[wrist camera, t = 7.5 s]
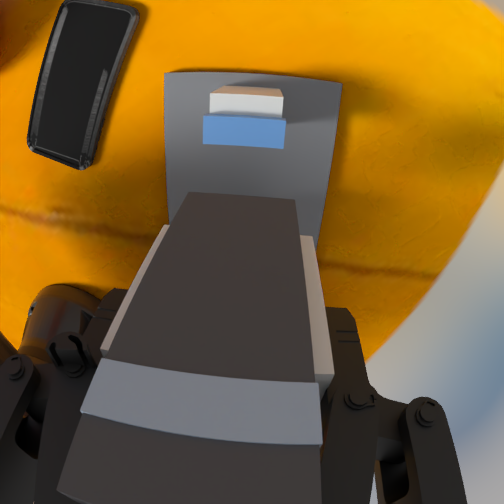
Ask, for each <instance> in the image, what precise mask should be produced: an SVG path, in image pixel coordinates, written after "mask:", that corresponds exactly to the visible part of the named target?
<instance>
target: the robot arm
mask: <svg viewBox="0 0 504 504" xmlns="http://www.w3.org/2000/svg"><path fill="white" fill-rule="evenodd" d="M169 226H170V225H164V226H163V227H162V229H161V231H160V233H159V234H158V236H157V238H156V240H155V242H154V243H153V245H152V247H151V249H150V251H149V252H148V254H147V256H146V258H145V260H144V262H143V263H142V265H141V267H140V269H139V271H138V273H137V275H136V277H135V279H134V280H133V282H132V284H131V286H130V288H129V290H125V289H118V288H114V289H112V290H111V291H110V292H109V293H108V294H106V295H105V296H104V297H103V299H102V301H100V300H99V299H97V298H96V297H94V296H92V295H90V294H89V293H87V292H85V291H82V290H80V289H77V288H74V287H70V286H66V285H51V286H48V287H45V288H44V289H42V290H41V291H40V292H39V293H38V295H37V296H36V298H35V299H34V300H33V302H32V304H31V306H30V308H29V312H28V318H27V321H26V325H25V329H24V333H23V338H22V342H21V346H20V347H19V349H18V351H17V350H16V349H15V348H14V347H13V345H12V344H11V343H10V342H9V341H8V340H7V339H6V337H5V336H4V335H3V334H2V333H1V331H0V504H33V502H34V504H81V503H78V502H76V501H74V500H73V499H71V498H69V497H67V496H66V495H64V494H62V493H61V492H59V491H57V490H56V489H57V486H58V483H59V480H60V476H61V473H62V470H63V467H64V464H65V461H66V458H67V455H68V452H69V449H70V446H71V443H72V441H73V438H74V435H75V432H76V430H77V427H78V424H79V421H80V419H81V416H82V413H81V411H80V409H81V406H82V404H83V401H84V399H85V396H86V394H87V391H88V389H89V387H90V384H91V382H92V379H93V377H94V375H95V372H96V370H97V368H98V365H99V363H100V361H101V358H105V357H106V355H107V352H108V350H109V348H110V345H111V343H112V341H113V339H114V337H115V334H116V332H117V330H118V328H119V326H120V323H121V321H122V319H123V317H124V315H125V313H126V311H127V308H128V306H129V304H130V302H131V300H132V298H133V296H134V294H135V292H136V290H137V288H138V286H139V284H140V282H141V280H142V278H143V276H144V274H145V272H146V270H147V268H148V266H149V264H150V262H151V260H152V258H153V256H154V254H155V252H156V250H157V248H158V246H159V245H160V243H161V241H162V239H163V237H164V235H165V233H166V231H167V230H168V228H169ZM300 240H301V248H302V256H303V264H304V273H305V281H306V290H307V299H308V308H309V318H310V328H311V338H312V349H313V360H314V372H315V383H318V385H319V397H320V410H321V424H322V440H323V444H322V446H321V447H320V468H321V497H322V504H369V503H370V497H371V490H372V483H373V476H374V473H375V481H376V489H377V499H378V504H467V500H466V495H465V490H464V485H463V481H462V476H461V472H460V467H459V463H458V459H457V455H456V451H455V447H454V443H453V439H452V436H451V433H450V429H449V425H448V422H447V418H446V415H445V412H444V410H443V408H442V406H441V405H440V404H438V402H437V401H435V400H433V399H431V398H429V397H419V398H416V399H413V400H412V401H411V402H410V403H409V404H405V403H401V402H397V401H393V400H389V399H386V398H383V397H382V396H381V395H379V394H378V393H377V391H376V390H375V388H373V387H372V386H371V385H370V383H369V380H368V377H367V372H366V367H365V362H364V357H363V353H362V348H361V344H360V339H359V335H358V333H357V332H358V330H357V326H356V322H355V319H354V317H353V316H352V315H351V313H350V312H349V311H348V309H347V308H334V307H325V305H324V298H323V292H322V286H321V281H320V275H319V269H318V263H317V258H316V252H315V247H314V242H313V237H312V236H305V235H300Z"/></svg>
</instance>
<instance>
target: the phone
mask: <svg viewBox="0 0 504 504" xmlns="http://www.w3.org/2000/svg"><path fill="white" fill-rule="evenodd" d="M138 22H139V12H138V10H137V9H136V8H134V7H131V6H128V5H123V4H118V3H113V2H107V1H101V0H65V1H64V2H63V3H62V4H61V6H60V8H59V11H58V14H57V17H56V19H55V22H54V25H53V28H52V31H51V34H50V37H49V40H48V44H47V47H46V50H45V54H44V58H43V61H42V65H41V69H40V73H39V77H38V81H37V85H36V90H35V94H34V99H33V104H32V110H31V115H30V121H29V127H28V134H27V145H28V147H29V149H30V150H31V151H32V152H34V153H37V154H39V155H42V156H44V157H47V158H50V159H52V160H55V161H57V162H60V163H62V164H65V165H67V166H70V167H72V168H75V169H77V170H84V169H86V168H88V167H89V166H90V165H91V164H92V163H93V161H94V157H95V153H96V149H97V144H98V141H99V138H100V134H101V129H102V127H103V124H104V120H105V115H106V111H107V108H108V104H109V101H110V98H111V95H112V91H113V88H114V85H115V82H116V79H117V76H118V73H119V71H120V68H121V65H122V62H123V59H124V57H125V54H126V51H127V49H128V46H129V44H130V41H131V39H132V36H133V34H134V31H135V29H136V27H137V24H138Z"/></svg>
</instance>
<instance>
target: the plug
mask: <svg viewBox="0 0 504 504" xmlns="http://www.w3.org/2000/svg"><path fill="white" fill-rule="evenodd" d="M80 411H81V413H82V416H81V419H80V421H79V424H78V427H77V430H76V432H75V435H74V438H73V441H72V443H71V446H70V449H69V452H68V455H67V458H66V461H65V464H64V467H63V470H62V473H61V476H60V480H59V483H58V486H57V489H56V490H57V491H59V492H61V493H62V494H64V495H66V496H67V497H69V498H71V499H73V500H74V501H76V502H78V503H81V504H322V497H321V468H320V447H321V446H322V444H323V440H322V424H321V410H320V397H319V385H318V383H315V372H314V360H313V349H312V338H311V328H310V318H309V308H308V299H307V290H306V281H305V273H304V264H303V256H302V248H301V240H300V233H299V225H298V218H297V211H296V204H295V200H294V199H283V198H272V197H260V196H247V195H233V194H218V193H202V192H188V194H187V195H186V197H185V199H184V201H183V202H182V204H181V206H180V208H179V210H178V211H177V213H176V215H175V217H174V219H173V220H172V222H171V224H170V226H169V228H168V230H167V231H166V233H165V235H164V237H163V239H162V241H161V243H160V245H159V246H158V248H157V250H156V252H155V254H154V256H153V258H152V260H151V262H150V264H149V266H148V268H147V270H146V272H145V274H144V276H143V278H142V280H141V282H140V284H139V286H138V288H137V290H136V292H135V294H134V296H133V298H132V300H131V302H130V304H129V306H128V308H127V311H126V313H125V315H124V317H123V319H122V321H121V323H120V326H119V328H118V330H117V332H116V334H115V337H114V339H113V341H112V343H111V345H110V348H109V350H108V352H107V355H106V357H105V358H101V361H100V363H99V365H98V368H97V370H96V372H95V375H94V377H93V379H92V382H91V384H90V387H89V389H88V391H87V394H86V396H85V399H84V401H83V404H82V406H81V409H80Z"/></svg>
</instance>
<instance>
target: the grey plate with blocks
mask: <svg viewBox="0 0 504 504" xmlns="http://www.w3.org/2000/svg"><path fill="white" fill-rule="evenodd" d="M341 91H342V83H338V82H331V81H325V80H318V79H310V78H302V77H293V76H283V75H271V74H258V73H239V72H170V73H164V124H165V160H166V182H167V200H168V215H169V225H170V224H171V222H172V220H173V219H174V217H175V215H176V213H177V211H178V210H179V208H180V206H181V204H182V202H183V201H184V199H185V197H186V195H187V194H188V192H202V193H218V194H233V195H247V196H260V197H272V198H283V199H294V200H295V204H296V211H297V218H298V225H299V233H300V235H305V236H312V237H313V242H314V247H315V252H316V248H317V242H318V237H319V232H320V227H321V221H322V216H323V210H324V205H325V199H326V193H327V187H328V181H329V175H330V169H331V163H332V156H333V150H334V143H335V136H336V129H337V122H338V114H339V107H340V99H341Z"/></svg>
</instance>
